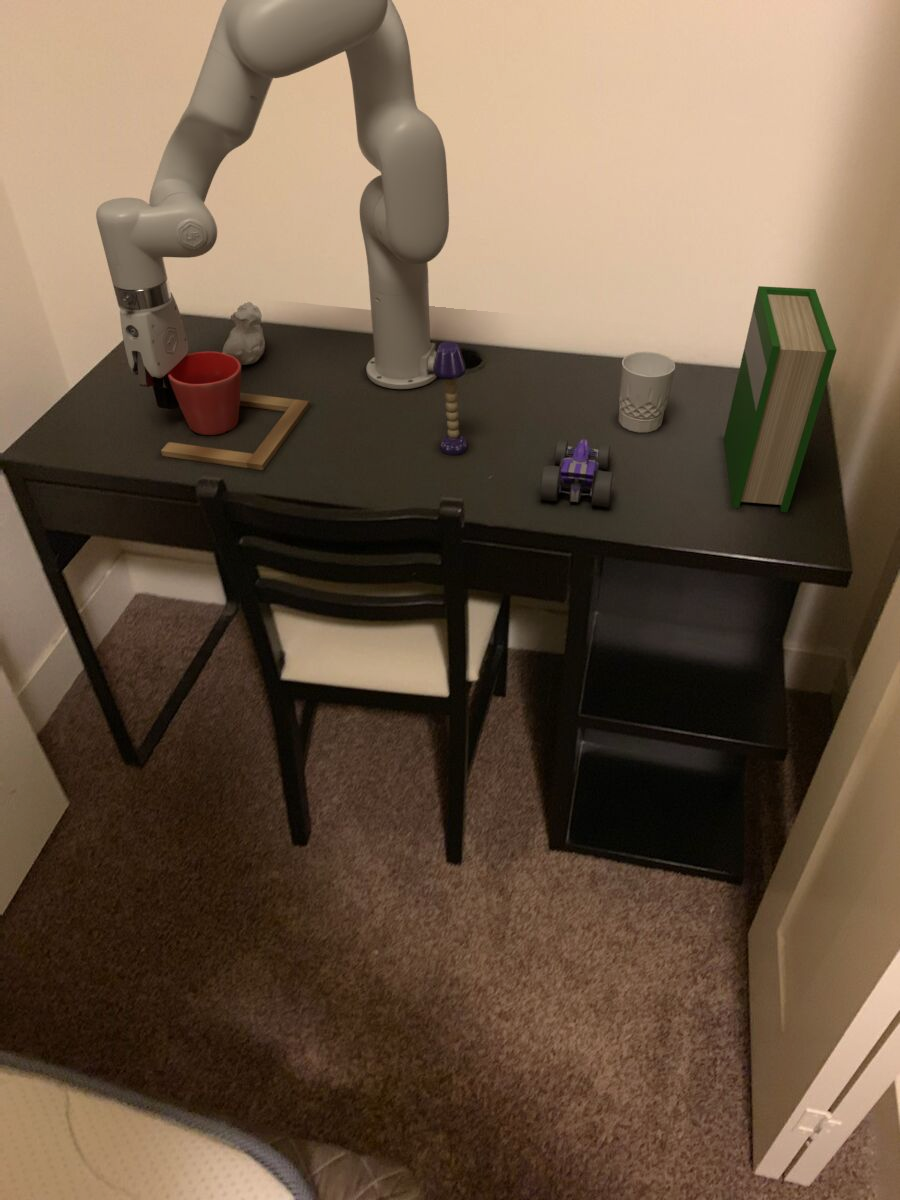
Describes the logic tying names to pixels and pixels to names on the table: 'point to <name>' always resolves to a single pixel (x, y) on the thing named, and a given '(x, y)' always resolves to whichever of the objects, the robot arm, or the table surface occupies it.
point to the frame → (268, 446)
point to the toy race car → (578, 473)
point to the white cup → (644, 390)
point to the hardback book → (777, 395)
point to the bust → (246, 335)
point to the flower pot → (208, 391)
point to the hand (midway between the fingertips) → (169, 406)
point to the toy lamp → (451, 394)
